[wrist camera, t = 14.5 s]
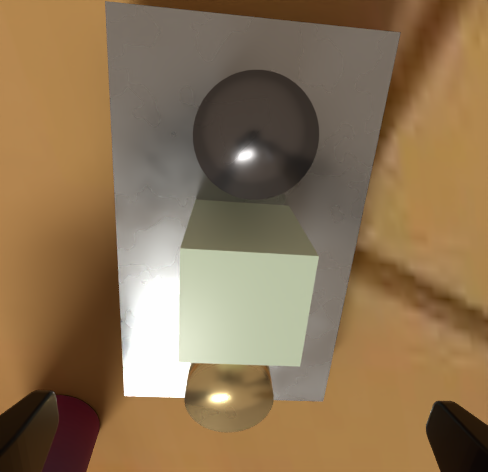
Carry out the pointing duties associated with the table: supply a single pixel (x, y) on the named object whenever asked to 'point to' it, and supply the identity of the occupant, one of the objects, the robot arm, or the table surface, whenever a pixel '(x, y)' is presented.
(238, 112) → the black peg
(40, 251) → the table surface
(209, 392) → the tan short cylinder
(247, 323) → the green block
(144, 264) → the grey flat plate
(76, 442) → the cup
